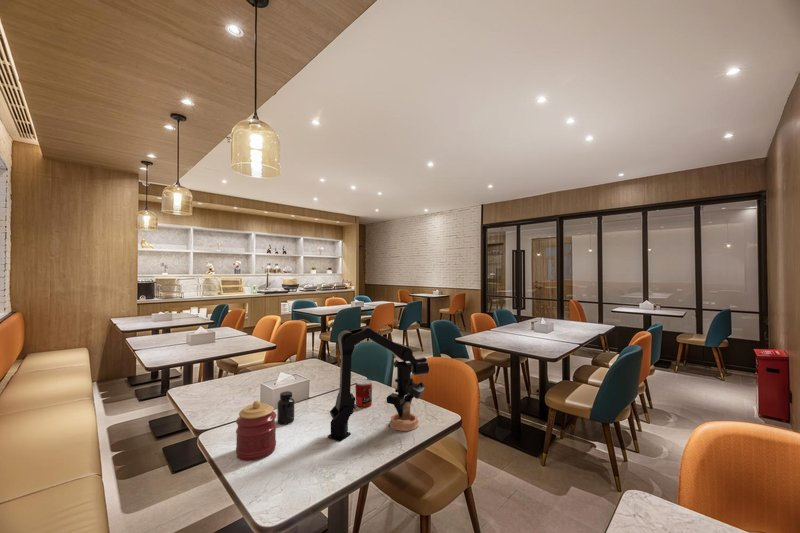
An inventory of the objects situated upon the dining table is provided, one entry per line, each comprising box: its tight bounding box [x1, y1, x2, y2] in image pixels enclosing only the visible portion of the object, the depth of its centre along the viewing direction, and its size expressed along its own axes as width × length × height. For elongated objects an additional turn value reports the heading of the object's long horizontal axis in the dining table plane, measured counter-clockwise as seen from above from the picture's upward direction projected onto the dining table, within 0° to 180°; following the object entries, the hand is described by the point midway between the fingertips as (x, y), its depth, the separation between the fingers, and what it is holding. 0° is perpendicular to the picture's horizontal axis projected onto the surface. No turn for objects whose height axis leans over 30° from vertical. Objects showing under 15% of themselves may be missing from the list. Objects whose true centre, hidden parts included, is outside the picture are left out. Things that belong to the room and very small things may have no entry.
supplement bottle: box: [276, 390, 295, 426], centre depth 141 cm, size 7×7×12 cm
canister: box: [235, 400, 277, 462], centre depth 117 cm, size 13×13×18 cm
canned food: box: [355, 378, 373, 409], centre depth 159 cm, size 8×8×11 cm
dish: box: [389, 412, 420, 432], centre depth 138 cm, size 12×12×3 cm
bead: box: [398, 401, 411, 420], centre depth 138 cm, size 5×5×6 cm
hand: (404, 414), depth 138 cm, fingers closed on bead, 5 cm apart
